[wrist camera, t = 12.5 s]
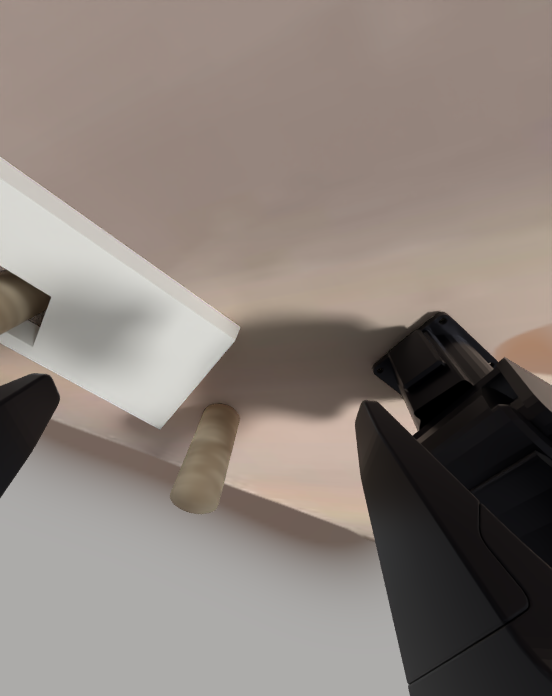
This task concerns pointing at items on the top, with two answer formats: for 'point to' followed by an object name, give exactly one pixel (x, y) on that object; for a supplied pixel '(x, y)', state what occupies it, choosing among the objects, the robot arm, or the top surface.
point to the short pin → (206, 461)
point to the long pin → (19, 301)
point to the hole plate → (104, 307)
